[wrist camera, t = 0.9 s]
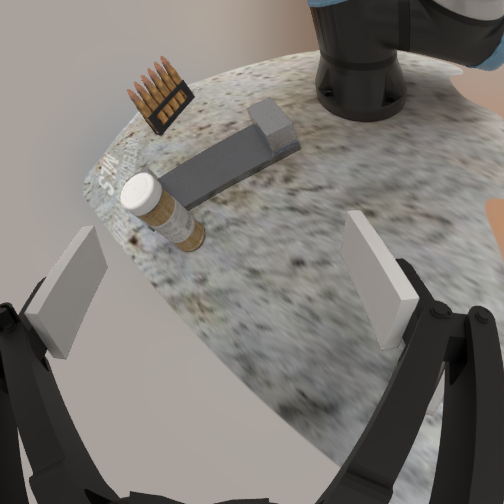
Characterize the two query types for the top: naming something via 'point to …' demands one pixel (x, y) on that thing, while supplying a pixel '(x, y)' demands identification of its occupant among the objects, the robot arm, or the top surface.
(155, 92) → the ammunition clip
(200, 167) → the rail
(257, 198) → the top surface
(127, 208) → the sprinkles bottle
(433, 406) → the electrical switch
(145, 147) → the top surface
